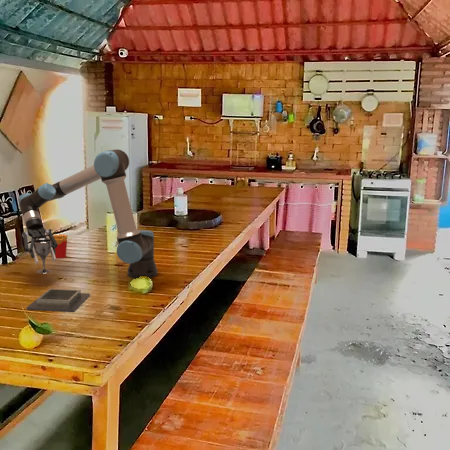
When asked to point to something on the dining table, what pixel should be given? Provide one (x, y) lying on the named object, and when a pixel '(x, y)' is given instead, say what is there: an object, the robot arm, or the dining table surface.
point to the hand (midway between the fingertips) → (45, 261)
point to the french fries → (61, 245)
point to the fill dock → (59, 300)
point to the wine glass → (43, 252)
